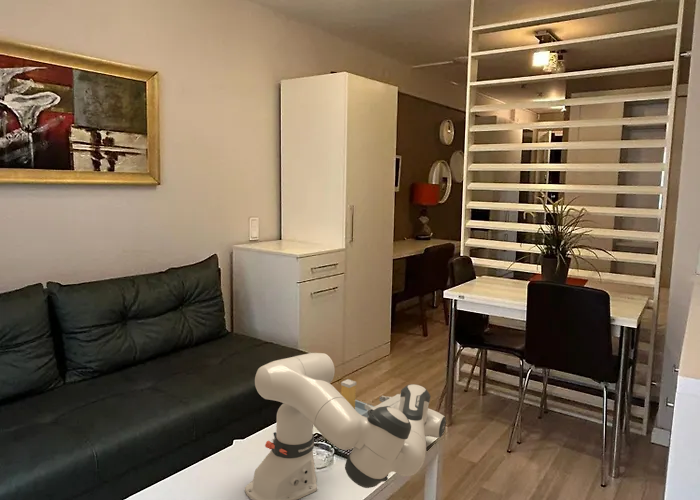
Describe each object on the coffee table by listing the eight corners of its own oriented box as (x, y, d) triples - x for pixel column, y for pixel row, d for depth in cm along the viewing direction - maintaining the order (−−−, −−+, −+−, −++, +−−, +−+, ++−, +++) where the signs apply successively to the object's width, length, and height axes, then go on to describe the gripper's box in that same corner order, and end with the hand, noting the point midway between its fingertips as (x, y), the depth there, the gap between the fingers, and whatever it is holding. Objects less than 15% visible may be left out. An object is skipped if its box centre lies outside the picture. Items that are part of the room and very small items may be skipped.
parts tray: (350, 429, 192) (351, 420, 192) (318, 416, 202) (319, 408, 202) (375, 415, 205) (376, 407, 204) (344, 403, 215) (344, 395, 214)
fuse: (348, 417, 200) (349, 385, 199) (340, 413, 203) (341, 382, 201) (355, 413, 204) (356, 381, 202) (346, 410, 206) (348, 379, 205)
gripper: (387, 431, 179) (355, 419, 187) (418, 412, 195) (388, 401, 203) (388, 414, 178) (356, 402, 186) (419, 396, 194) (388, 386, 202)
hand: (373, 401), depth 195 cm, fingers open, 8 cm apart
